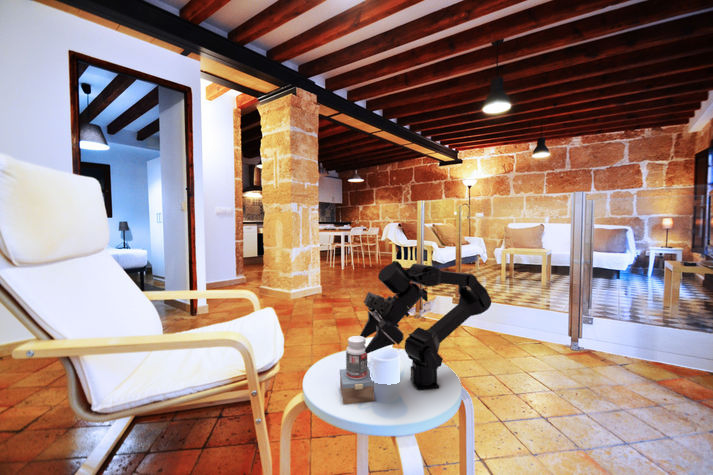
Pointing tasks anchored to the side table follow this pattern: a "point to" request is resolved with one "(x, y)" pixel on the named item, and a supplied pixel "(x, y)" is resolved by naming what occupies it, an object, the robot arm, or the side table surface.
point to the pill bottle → (356, 358)
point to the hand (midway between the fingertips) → (363, 344)
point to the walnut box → (357, 394)
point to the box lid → (355, 383)
